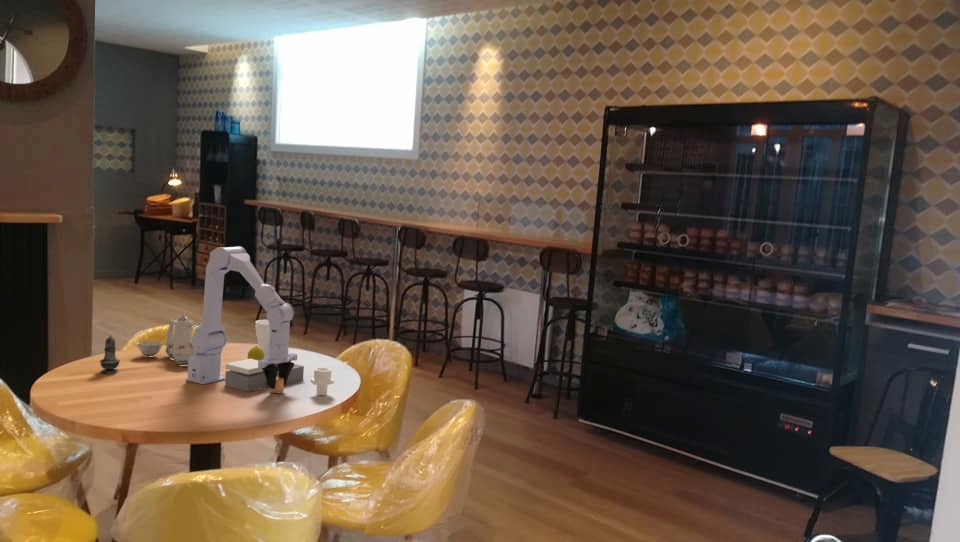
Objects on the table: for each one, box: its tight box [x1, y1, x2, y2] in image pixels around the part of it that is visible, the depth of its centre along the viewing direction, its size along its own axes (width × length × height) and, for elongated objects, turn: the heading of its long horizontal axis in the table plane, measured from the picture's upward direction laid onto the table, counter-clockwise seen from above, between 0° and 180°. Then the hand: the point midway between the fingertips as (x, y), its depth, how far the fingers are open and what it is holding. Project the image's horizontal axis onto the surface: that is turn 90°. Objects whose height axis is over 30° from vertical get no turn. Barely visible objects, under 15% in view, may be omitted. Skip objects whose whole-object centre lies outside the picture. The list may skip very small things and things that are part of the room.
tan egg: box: [269, 377, 285, 394], centre depth 217 cm, size 4×4×4 cm
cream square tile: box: [225, 358, 263, 375], centre depth 223 cm, size 10×10×2 cm
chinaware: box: [136, 312, 199, 365], centre depth 247 cm, size 28×17×17 cm, turn 67°
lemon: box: [246, 345, 264, 361], centre depth 243 cm, size 6×6×8 cm
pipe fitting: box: [310, 366, 335, 396], centre depth 219 cm, size 6×7×8 cm
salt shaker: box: [99, 335, 121, 375], centre depth 226 cm, size 6×6×12 cm
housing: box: [224, 363, 305, 392], centre depth 228 cm, size 22×14×4 cm, turn 151°
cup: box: [254, 318, 270, 359], centre depth 259 cm, size 10×10×14 cm
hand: (276, 386), depth 217 cm, fingers closed on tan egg, 4 cm apart
